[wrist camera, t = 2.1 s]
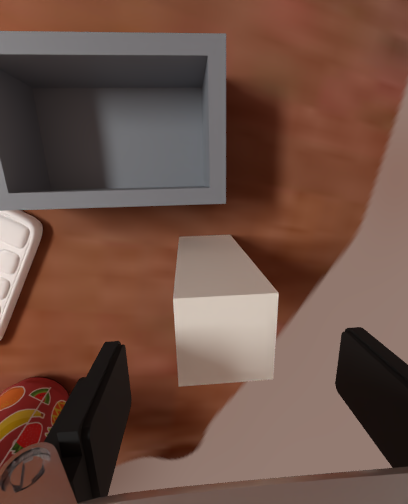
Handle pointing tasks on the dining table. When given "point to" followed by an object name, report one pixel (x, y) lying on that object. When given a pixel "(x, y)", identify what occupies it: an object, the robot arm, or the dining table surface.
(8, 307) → the calculator
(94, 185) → the grey open box
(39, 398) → the smoothie
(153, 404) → the dining table surface
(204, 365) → the post
